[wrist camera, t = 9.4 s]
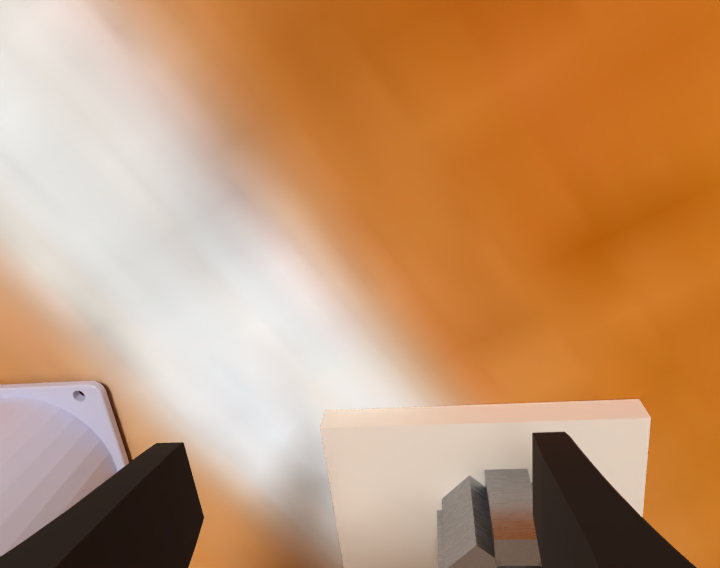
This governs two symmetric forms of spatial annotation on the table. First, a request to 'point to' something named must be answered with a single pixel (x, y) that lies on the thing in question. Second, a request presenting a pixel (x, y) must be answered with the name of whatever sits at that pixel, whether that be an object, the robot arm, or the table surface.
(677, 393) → the table surface
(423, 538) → the gear board
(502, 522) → the steel gear
